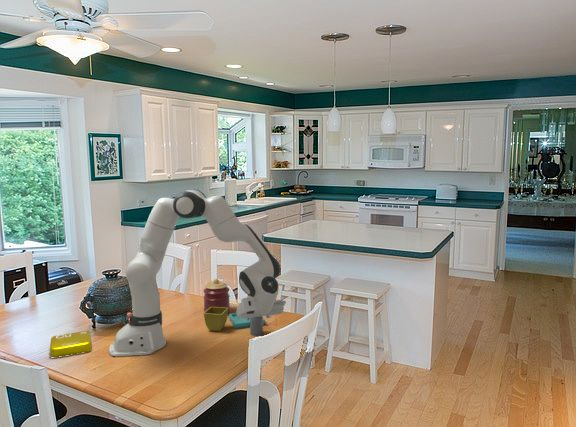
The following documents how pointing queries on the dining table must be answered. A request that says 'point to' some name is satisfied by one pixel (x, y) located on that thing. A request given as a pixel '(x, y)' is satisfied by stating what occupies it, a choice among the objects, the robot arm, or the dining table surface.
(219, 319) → the flower pot
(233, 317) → the tray
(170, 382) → the dining table surface
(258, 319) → the dark grey cylinder
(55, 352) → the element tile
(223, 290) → the canister
